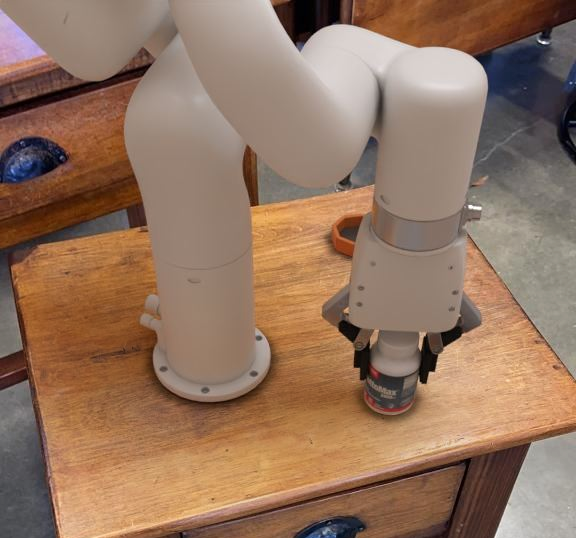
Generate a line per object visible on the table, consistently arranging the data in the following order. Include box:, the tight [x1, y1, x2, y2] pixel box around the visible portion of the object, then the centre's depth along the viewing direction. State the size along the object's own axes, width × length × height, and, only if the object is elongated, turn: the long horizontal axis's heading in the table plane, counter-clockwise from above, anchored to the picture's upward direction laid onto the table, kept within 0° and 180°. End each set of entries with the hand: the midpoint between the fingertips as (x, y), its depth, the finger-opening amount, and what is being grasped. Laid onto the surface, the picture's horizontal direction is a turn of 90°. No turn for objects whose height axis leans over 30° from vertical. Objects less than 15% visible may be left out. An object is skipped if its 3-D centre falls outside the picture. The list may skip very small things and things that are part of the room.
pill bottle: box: [363, 330, 422, 416], centre depth 83 cm, size 5×5×9 cm
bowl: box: [330, 213, 366, 258], centre depth 101 cm, size 6×6×2 cm
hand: (392, 371), depth 83 cm, fingers closed on pill bottle, 5 cm apart
